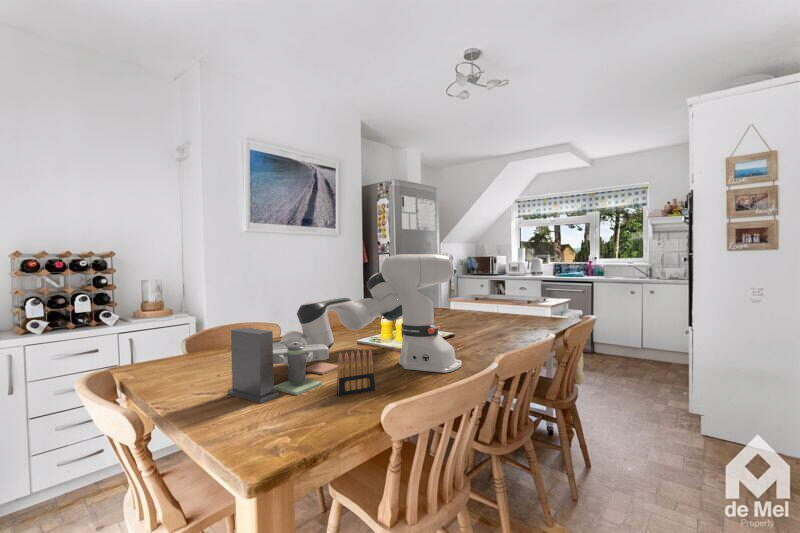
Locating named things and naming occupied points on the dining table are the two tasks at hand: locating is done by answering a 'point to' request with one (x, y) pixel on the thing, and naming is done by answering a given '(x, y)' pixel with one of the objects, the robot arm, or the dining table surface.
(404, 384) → the dining table surface
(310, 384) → the sage green pad
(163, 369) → the dining table surface
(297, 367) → the cartridge
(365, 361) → the ammunition clip
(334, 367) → the terracotta pad
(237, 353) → the block
